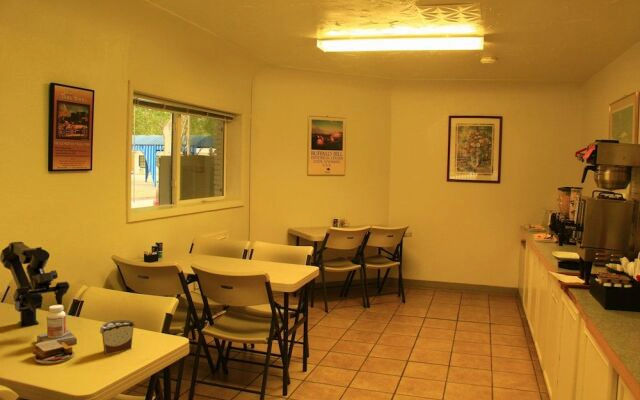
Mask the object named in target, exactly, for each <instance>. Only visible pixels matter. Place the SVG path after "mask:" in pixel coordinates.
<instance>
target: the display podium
mask: <svg viewBox="0 0 640 400" xmlns="http://www.w3.org/2000/svg"><path fill="white" fill-rule="evenodd" d="M49 340H57V342H58V343H60V344H61V343H62V342H64V343H65V344H66V345H67V346H69V347H70V346H73V345H74V346H75V345H77V344H78V341H77V337H76V336H75V335H74V334H73V333H72V332H71V331H70V330H69V329H66V335H65V336H63V337H60V338H49V337H48V336H47V333H42V334H38V335H36V342H37V343H40V342H44V341H49Z"/></svg>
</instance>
